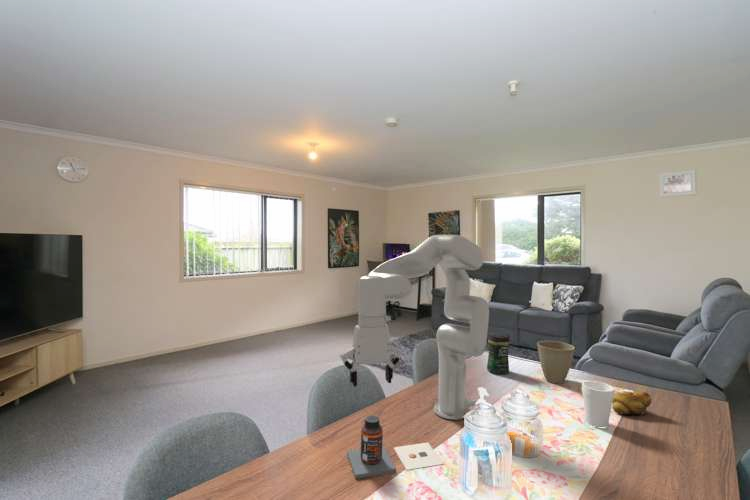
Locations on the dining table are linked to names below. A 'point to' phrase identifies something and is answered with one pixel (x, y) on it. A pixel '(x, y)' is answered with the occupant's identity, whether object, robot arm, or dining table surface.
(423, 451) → the tile
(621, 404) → the bread roll
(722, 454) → the dining table surface
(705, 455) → the dining table surface
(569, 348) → the plant pot
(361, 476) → the place mat
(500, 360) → the coffee jar
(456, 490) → the dining table surface
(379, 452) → the supplement bottle
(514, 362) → the dining table surface
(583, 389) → the foam cup
